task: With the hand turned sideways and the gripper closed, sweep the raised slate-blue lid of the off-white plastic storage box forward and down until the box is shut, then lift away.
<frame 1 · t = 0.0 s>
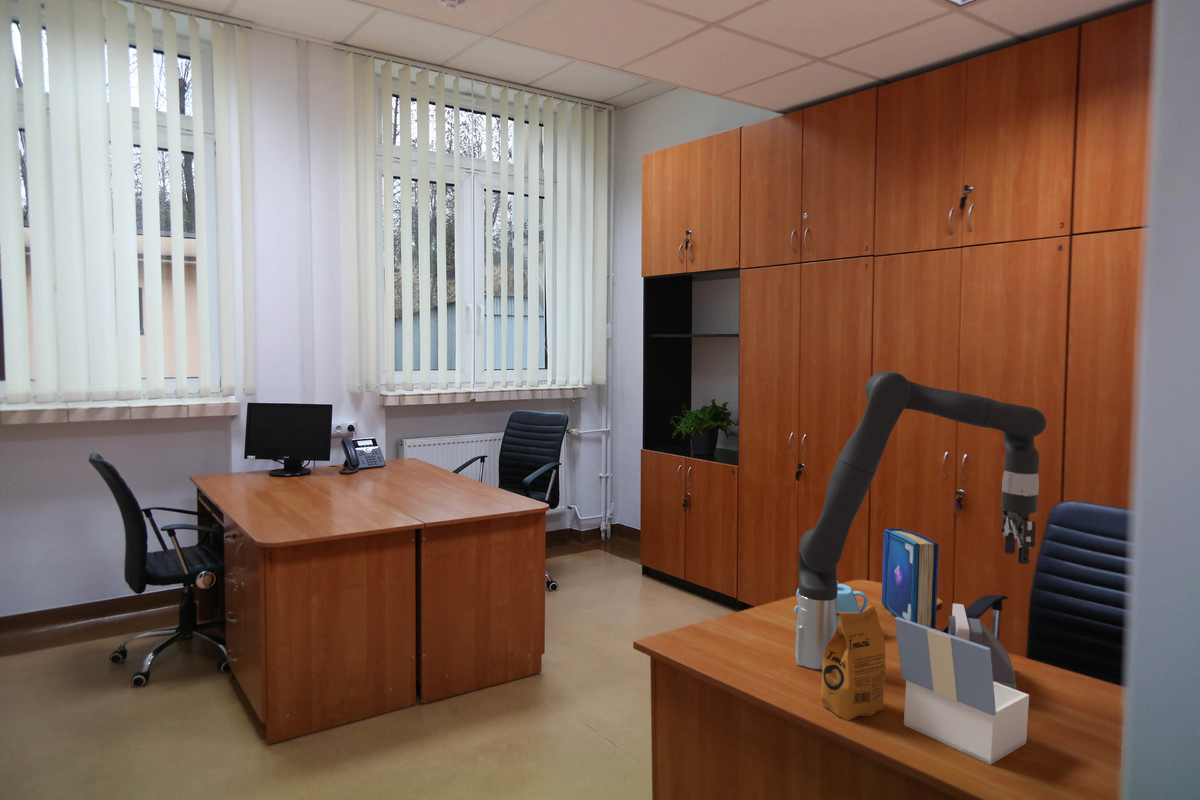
hand: (1015, 558, 178), 29 cm above the table, tool pointing down, fingers open, 8 cm apart
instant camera: (970, 678, 180), on the table
decorative pot: (830, 628, 211), on the table
storage box: (963, 733, 153), on the table
coffee package: (851, 708, 164), on the table
book: (905, 618, 220), on the table
lid: (943, 664, 147), point 17 cm above the table, hinge at 105.0°
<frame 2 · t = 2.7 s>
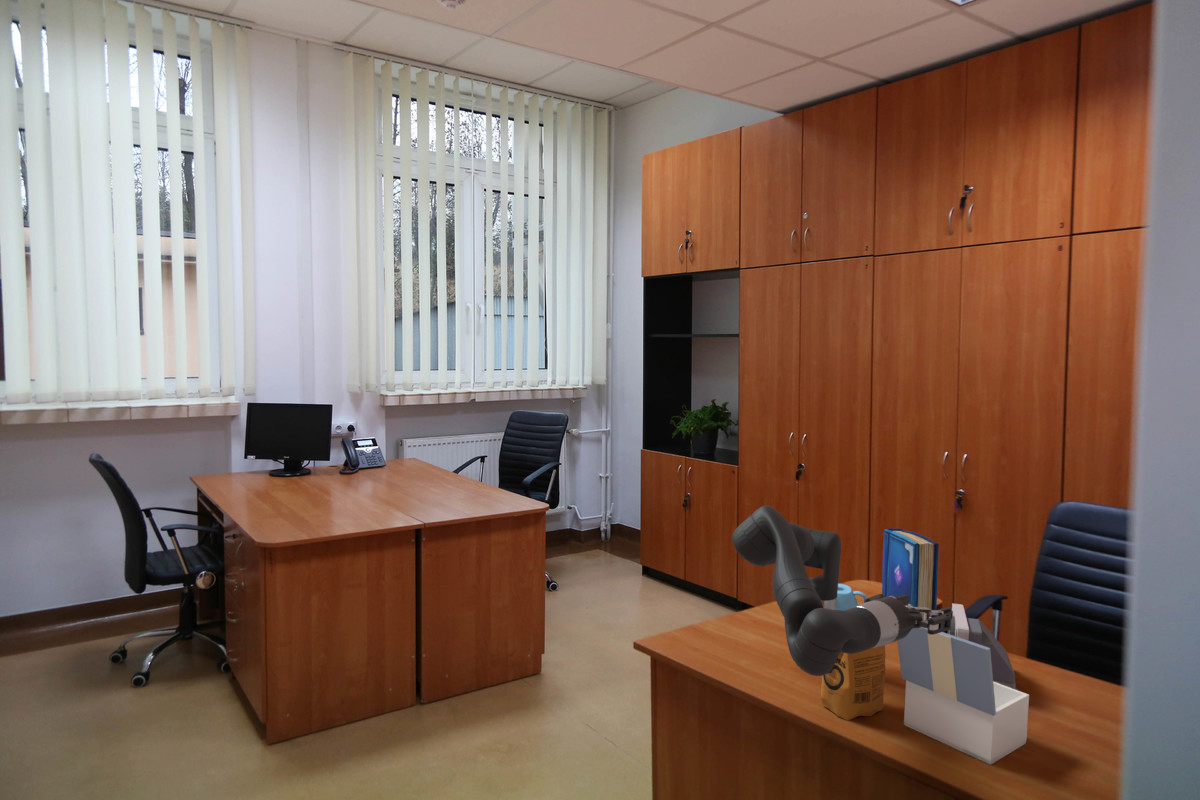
hand: (927, 606, 141), 30 cm above the table, tool horizontal, fingers open, 8 cm apart
nothing on the table moved.
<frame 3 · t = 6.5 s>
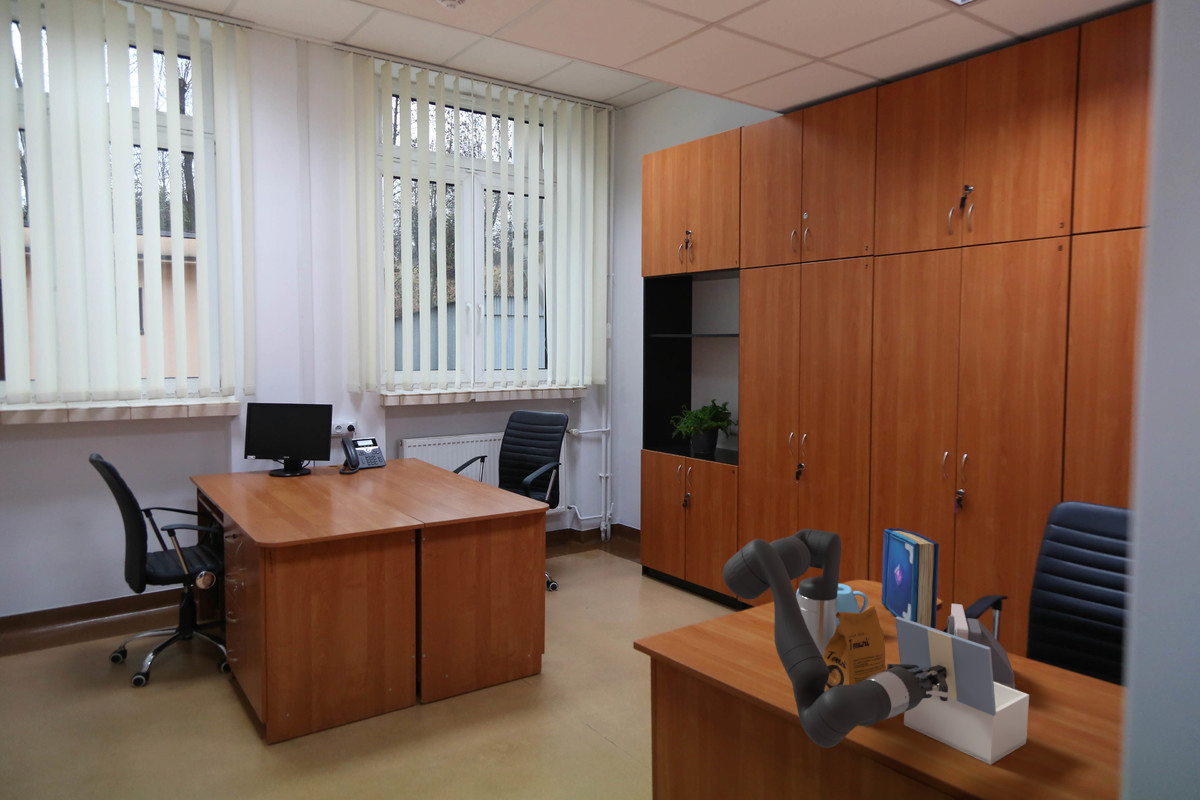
hand: (942, 671, 147), 16 cm above the table, tool horizontal, fingers closed
lid: (943, 664, 147), point 17 cm above the table, hinge at 104.3°, touching gripper
everything else where it was.
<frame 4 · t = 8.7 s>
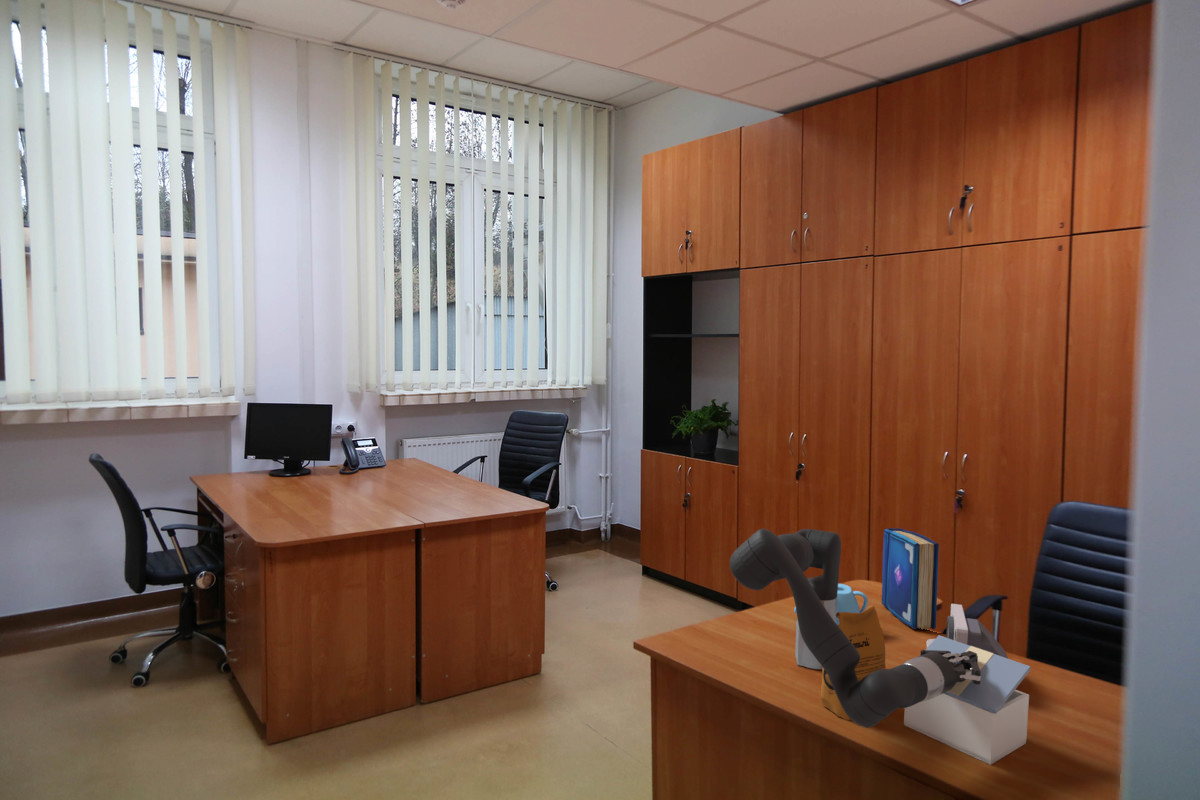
hand: (973, 656, 153), 16 cm above the table, tool horizontal, fingers closed
lid: (965, 671, 152), point 13 cm above the table, hinge at 22.7°, touching gripper
everything else where it was.
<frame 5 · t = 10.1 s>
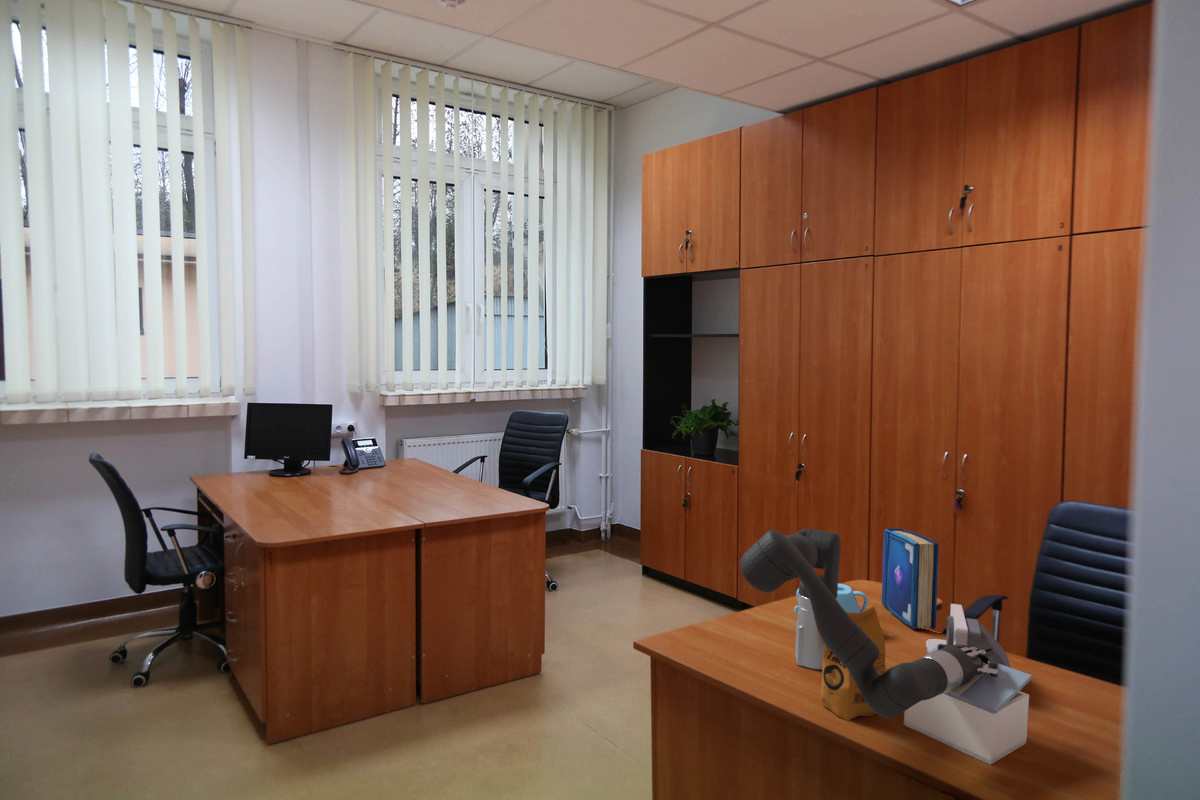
hand: (988, 650, 157), 16 cm above the table, tool horizontal, fingers closed
lid: (966, 675, 152), point 12 cm above the table, hinge at 14.1°, touching gripper
everything else where it was.
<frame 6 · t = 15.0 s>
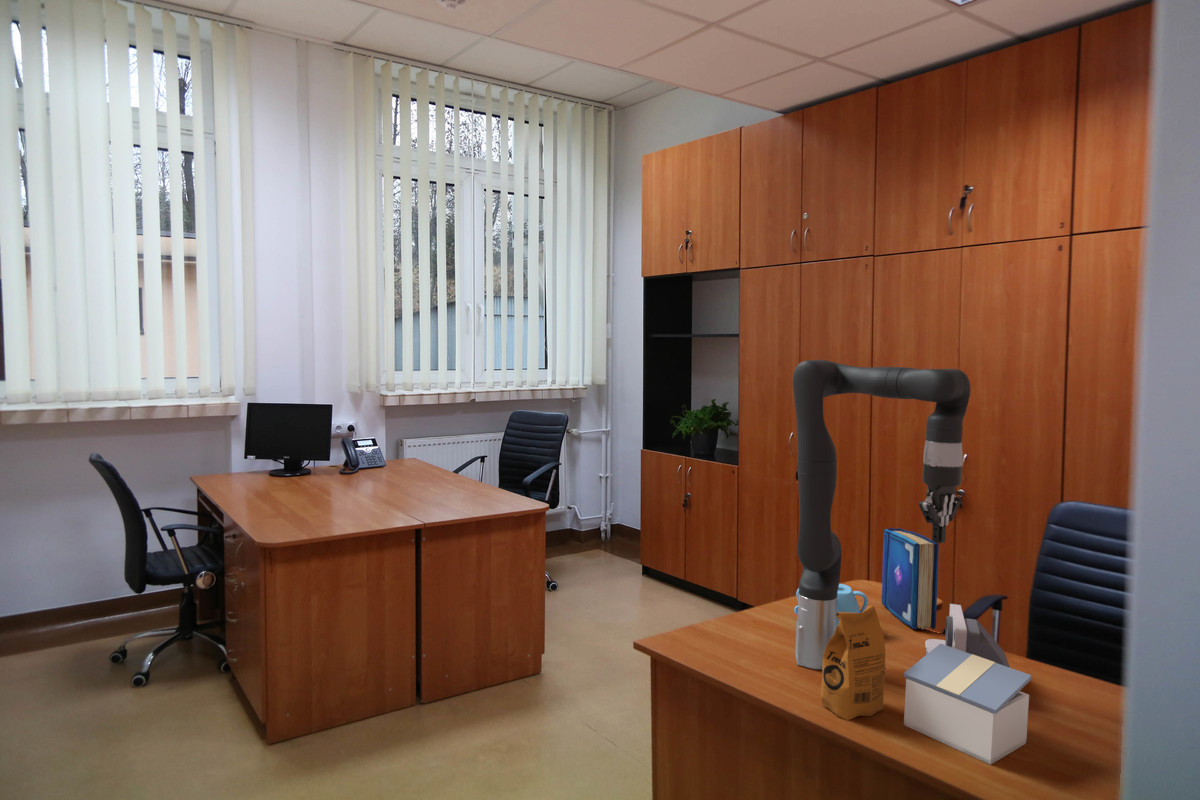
hand: (938, 542, 161), 37 cm above the table, tool pointing down, fingers closed
lid: (966, 675, 152), point 12 cm above the table, hinge at 13.8°
everything else where it was.
at the end: lid at +14° (first picture: +105°) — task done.
